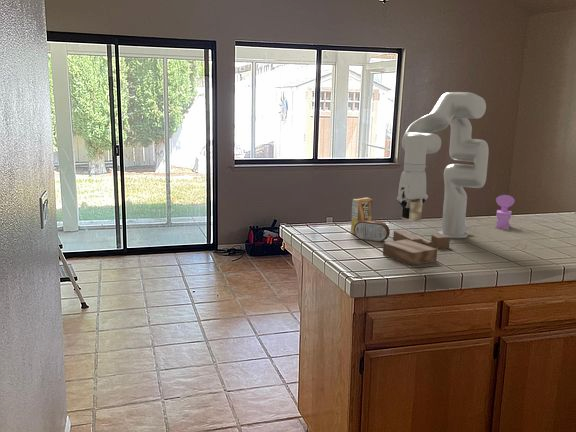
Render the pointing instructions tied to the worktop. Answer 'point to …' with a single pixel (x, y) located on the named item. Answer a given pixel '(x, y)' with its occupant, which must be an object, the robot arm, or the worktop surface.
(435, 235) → the wooden block set
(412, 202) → the maple block
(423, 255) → the walnut block
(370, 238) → the tin
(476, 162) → the robot arm
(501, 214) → the toy chair
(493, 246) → the worktop surface
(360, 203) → the candy box
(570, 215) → the worktop surface
